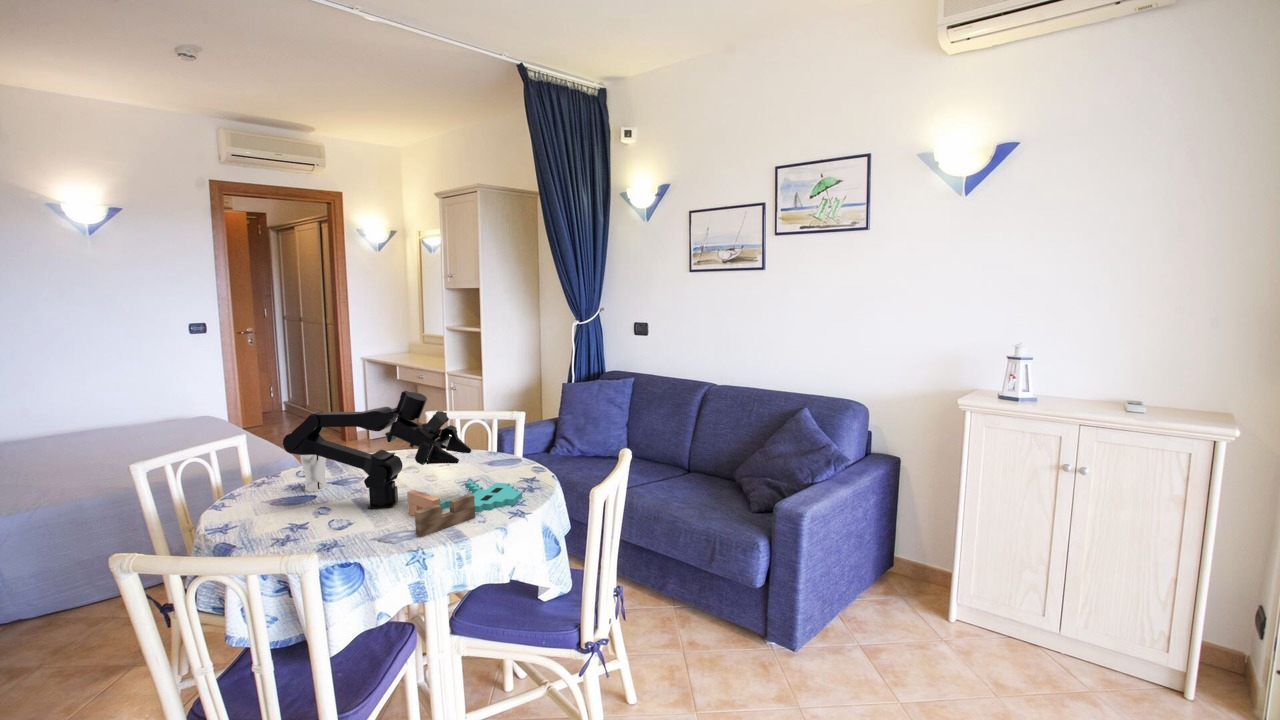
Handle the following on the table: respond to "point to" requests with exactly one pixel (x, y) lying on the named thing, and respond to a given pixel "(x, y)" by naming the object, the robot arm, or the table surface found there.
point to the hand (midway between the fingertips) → (464, 456)
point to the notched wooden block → (444, 515)
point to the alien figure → (490, 496)
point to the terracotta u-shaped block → (420, 501)
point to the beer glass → (314, 472)
